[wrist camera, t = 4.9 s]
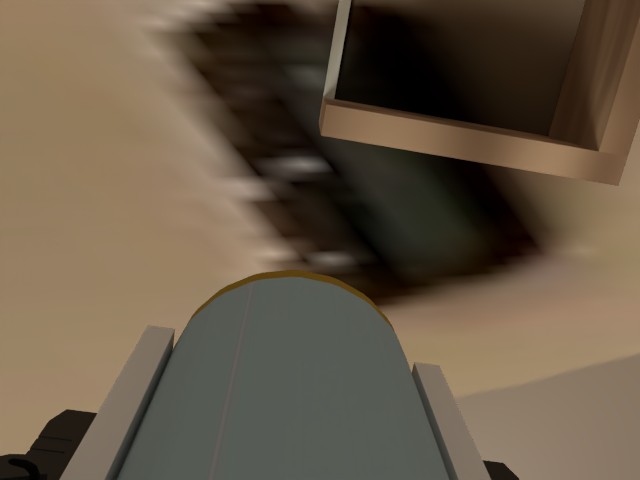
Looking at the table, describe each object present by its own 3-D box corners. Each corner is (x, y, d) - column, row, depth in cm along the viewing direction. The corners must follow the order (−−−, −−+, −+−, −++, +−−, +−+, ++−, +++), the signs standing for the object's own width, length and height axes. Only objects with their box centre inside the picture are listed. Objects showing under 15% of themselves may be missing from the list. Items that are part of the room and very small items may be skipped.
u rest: (318, 122, 33) (321, 135, 27) (362, -138, 29) (375, -188, 23) (564, 164, 34) (618, 185, 28) (636, -83, 30) (714, -118, 24)
